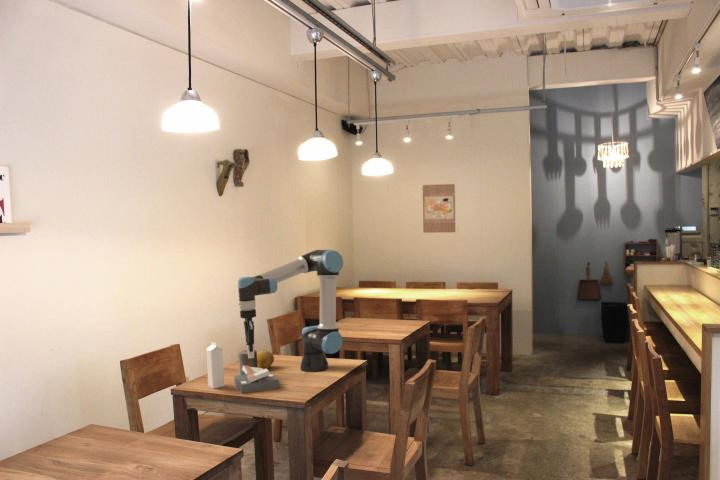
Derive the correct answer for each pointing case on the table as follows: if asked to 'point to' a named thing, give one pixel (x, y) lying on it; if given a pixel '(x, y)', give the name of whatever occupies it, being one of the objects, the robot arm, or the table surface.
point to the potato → (264, 359)
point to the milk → (215, 366)
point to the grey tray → (256, 383)
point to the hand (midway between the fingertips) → (251, 357)
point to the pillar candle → (246, 360)
